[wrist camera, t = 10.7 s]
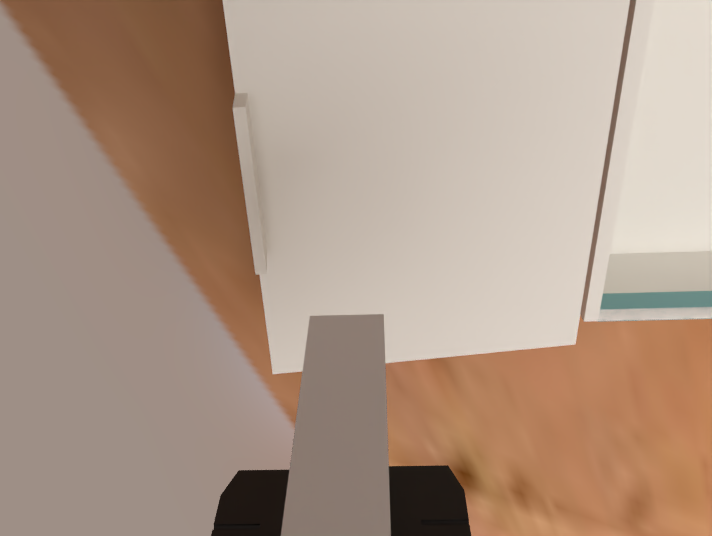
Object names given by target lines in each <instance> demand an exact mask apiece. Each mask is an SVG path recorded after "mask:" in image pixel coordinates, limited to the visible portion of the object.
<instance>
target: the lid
mask: <svg viewBox="0 0 712 536" xmlns="http://www.w3.org/2000/svg"><path fill="white" fill-rule="evenodd" d="M629 4H630V0H223V8H224V15H225V22H226V30H227V37H228V45H229V52H230V60H231V67H232V74H233V82H234V89H235V97H234V102H233V115H234V122H235V130H236V137H237V144H238V151H239V159H240V166H241V173H242V180H243V187H244V195H245V202H246V209H247V216H248V224H249V231H250V238H251V245H252V253H253V260H254V267H255V274H256V275H258V274H259V275H260V282H261V290H262V297H263V304H264V312H265V319H266V327H267V334H268V342H269V349H270V356H271V364H272V371H273V374H280V373H291V372H301V371H303V364H304V356H305V349H306V341H307V334H308V326H309V319H310V316H325V315H367V314H384V336H385V363H392V362H402V361H412V360H422V359H432V358H442V357H452V356H462V355H472V354H482V353H493V352H503V351H513V350H523V349H533V348H543V347H553V346H563V345H573V344H576V338H577V331H578V325H579V319H580V312H581V306H582V300H583V293H584V287H585V281H586V275H587V268H588V262H589V256H590V249H591V243H592V237H593V231H594V224H595V218H596V212H597V205H598V199H599V193H600V187H601V180H602V174H603V168H604V161H605V155H606V149H607V143H608V136H609V130H610V124H611V117H612V111H613V105H614V98H615V92H616V86H617V80H618V73H619V67H620V61H621V54H622V48H623V42H624V36H625V29H626V23H627V17H628V10H629Z"/></svg>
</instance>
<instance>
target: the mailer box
mask: <svg viewBox="0 0 712 536" xmlns="http://www.w3.org/2000/svg"><path fill="white" fill-rule="evenodd" d="M580 314H581V317H582V319H583V321H638V320H679V319H712V0H630V4H629V10H628V17H627V23H626V29H625V36H624V42H623V48H622V54H621V61H620V67H619V73H618V80H617V86H616V92H615V98H614V105H613V111H612V117H611V124H610V130H609V136H608V143H607V149H606V155H605V161H604V168H603V174H602V180H601V187H600V193H599V199H598V205H597V212H596V218H595V224H594V231H593V237H592V243H591V249H590V256H589V262H588V268H587V275H586V281H585V287H584V293H583V300H582V306H581V312H580Z"/></svg>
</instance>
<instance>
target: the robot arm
mask: <svg viewBox="0 0 712 536" xmlns="http://www.w3.org/2000/svg"><path fill="white" fill-rule="evenodd" d="M211 536H471V532H470V525H469V519H468V512H467V505H466V499H465V492H464V489H463V488H462V486H461V485H460V483H459V482H458V480H457V479H456V477H455V476H454V474H453V472H452V471H451V469H450V468H449V466H389V461H388V430H387V399H386V367H385V336H384V314H367V315H325V316H310V319H309V326H308V334H307V341H306V349H305V356H304V364H303V371H302V379H301V387H300V394H299V402H298V409H297V417H296V424H295V432H294V439H293V447H292V455H291V462H290V470H245V471H244V470H241V471H238V472H237V474H236V475H235V476H234V478H233V479H232V481H231V482H230V483H229V485H228V486H227V487H226V489H225V490H224V492H223V493H222V494H221V496H220V500H219V505H218V509H217V513H216V517H215V522H214V530H213V531H212V534H211Z"/></svg>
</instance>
